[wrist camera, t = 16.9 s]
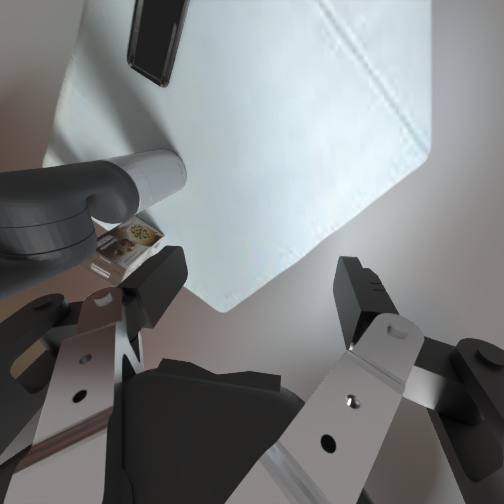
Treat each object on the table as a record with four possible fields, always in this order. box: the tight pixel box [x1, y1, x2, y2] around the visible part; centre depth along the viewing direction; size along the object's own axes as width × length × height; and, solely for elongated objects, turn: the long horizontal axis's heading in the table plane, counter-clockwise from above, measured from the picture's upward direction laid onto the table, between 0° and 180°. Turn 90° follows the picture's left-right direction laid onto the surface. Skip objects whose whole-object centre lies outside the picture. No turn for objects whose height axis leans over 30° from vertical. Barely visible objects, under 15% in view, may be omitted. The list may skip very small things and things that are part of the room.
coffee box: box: [80, 216, 164, 286], centre depth 51 cm, size 9×6×16 cm
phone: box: [127, 0, 190, 87], centre depth 36 cm, size 8×1×15 cm
